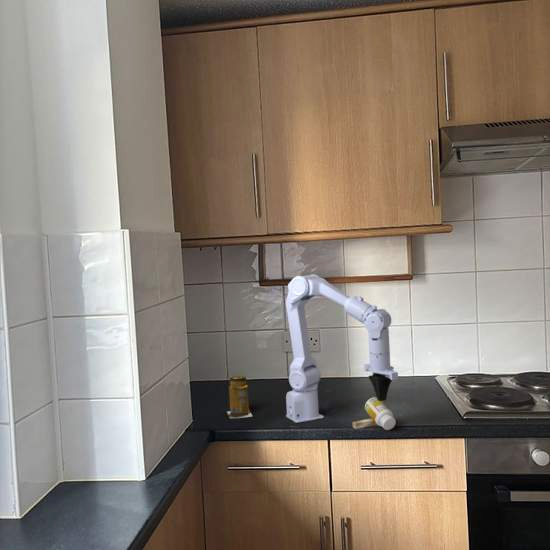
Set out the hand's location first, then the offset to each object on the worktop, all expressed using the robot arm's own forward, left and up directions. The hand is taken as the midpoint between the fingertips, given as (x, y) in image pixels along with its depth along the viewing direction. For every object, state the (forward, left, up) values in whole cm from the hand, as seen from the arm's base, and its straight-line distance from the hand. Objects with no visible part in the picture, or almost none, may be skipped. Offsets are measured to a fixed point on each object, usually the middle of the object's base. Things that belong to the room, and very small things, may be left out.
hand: (381, 400), depth 163 cm
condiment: (-31, +36, -8) cm, 48 cm away
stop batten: (0, +4, -8) cm, 9 cm away
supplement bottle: (0, +6, -2) cm, 6 cm away
